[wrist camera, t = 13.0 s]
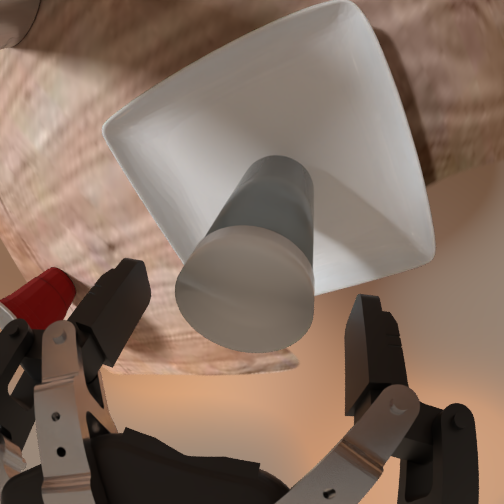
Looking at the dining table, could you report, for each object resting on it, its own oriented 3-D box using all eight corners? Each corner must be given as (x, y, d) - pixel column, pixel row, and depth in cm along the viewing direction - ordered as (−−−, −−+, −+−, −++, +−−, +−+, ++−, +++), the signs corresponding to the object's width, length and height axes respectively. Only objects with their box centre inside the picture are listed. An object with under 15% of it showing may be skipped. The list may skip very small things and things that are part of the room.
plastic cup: (45, 237, 32) (-13, 293, 22) (98, 293, 36) (50, 359, 26) (31, 270, 37) (-14, 319, 28) (75, 317, 41) (37, 371, 31)
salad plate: (429, 242, 23) (440, 264, 21) (227, 298, 32) (219, 321, 29) (347, 3, 14) (354, -9, 11) (118, 120, 22) (95, 128, 20)
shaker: (242, 149, 19) (167, 238, 10) (320, 159, 18) (328, 264, 9) (239, 217, 22) (182, 338, 12) (309, 228, 21) (299, 361, 12)
